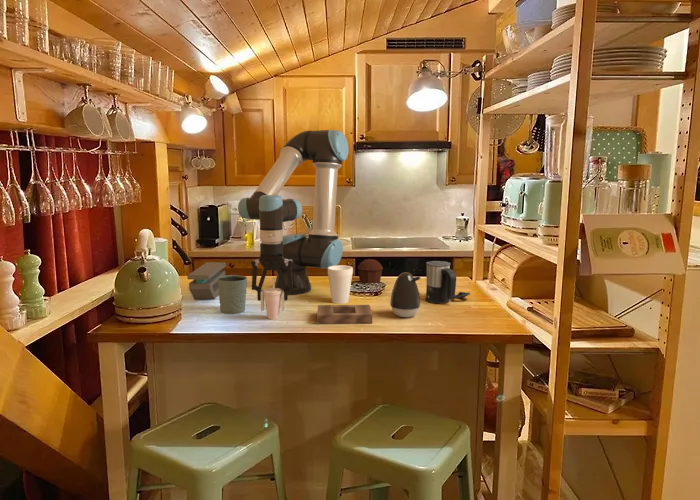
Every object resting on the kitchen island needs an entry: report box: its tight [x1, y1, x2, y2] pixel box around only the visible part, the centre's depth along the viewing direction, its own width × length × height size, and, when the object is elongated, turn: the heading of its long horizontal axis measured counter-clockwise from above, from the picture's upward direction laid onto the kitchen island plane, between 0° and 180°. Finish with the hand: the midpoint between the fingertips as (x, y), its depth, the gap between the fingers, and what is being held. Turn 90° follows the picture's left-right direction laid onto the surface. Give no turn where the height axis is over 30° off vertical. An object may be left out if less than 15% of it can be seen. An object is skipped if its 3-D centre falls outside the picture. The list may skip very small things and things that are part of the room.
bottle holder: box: [316, 304, 373, 325], centre depth 175 cm, size 18×12×3 cm, turn 93°
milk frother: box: [425, 260, 471, 304], centre depth 198 cm, size 14×16×15 cm
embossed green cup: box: [218, 274, 248, 315], centre depth 183 cm, size 10×10×12 cm
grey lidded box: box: [187, 261, 227, 300], centre depth 204 cm, size 25×8×11 cm, turn 179°
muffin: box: [357, 258, 384, 284], centre depth 227 cm, size 12×11×10 cm
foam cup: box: [327, 264, 354, 305], centre depth 196 cm, size 10×9×13 cm
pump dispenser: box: [389, 271, 421, 318], centre depth 178 cm, size 10×10×15 cm
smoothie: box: [262, 277, 282, 321], centre depth 174 cm, size 6×6×14 cm
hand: (273, 309), depth 175 cm, fingers closed on smoothie, 6 cm apart
